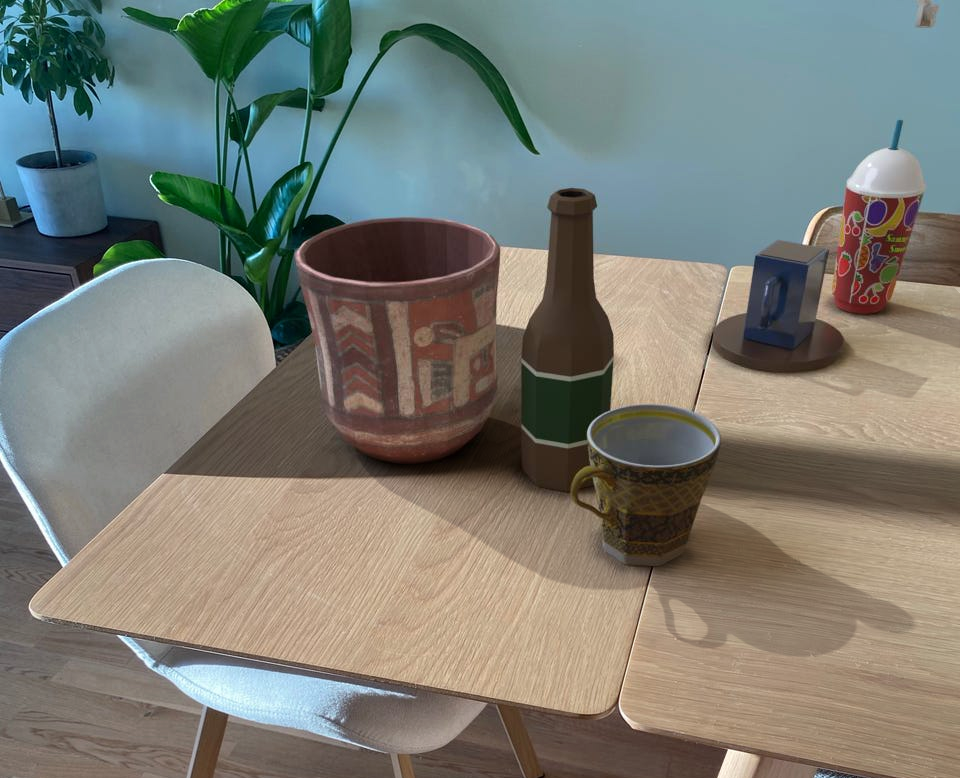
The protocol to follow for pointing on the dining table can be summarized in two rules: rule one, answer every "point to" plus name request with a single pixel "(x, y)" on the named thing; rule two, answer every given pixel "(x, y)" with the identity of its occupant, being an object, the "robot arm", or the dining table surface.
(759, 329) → the mug
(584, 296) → the beer bottle
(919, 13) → the robot arm
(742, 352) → the coaster
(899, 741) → the dining table surface
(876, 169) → the smoothie
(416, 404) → the pottery
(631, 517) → the ceramic cup
